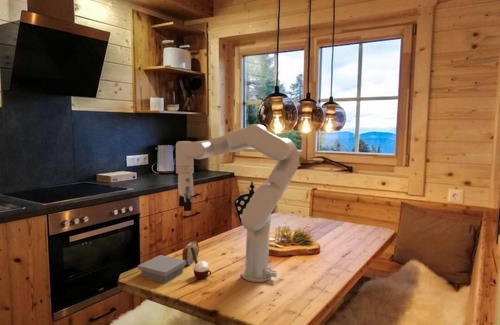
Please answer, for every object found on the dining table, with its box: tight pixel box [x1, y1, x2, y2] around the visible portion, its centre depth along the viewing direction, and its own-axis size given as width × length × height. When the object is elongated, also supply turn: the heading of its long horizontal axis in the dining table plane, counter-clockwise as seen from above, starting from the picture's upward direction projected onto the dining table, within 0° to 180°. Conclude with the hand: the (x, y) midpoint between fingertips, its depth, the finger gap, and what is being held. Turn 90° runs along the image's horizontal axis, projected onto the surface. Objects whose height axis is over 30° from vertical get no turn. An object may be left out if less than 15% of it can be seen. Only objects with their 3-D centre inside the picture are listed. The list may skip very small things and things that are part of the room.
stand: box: [137, 254, 187, 284], centre depth 151 cm, size 14×14×5 cm
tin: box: [181, 241, 200, 266], centre depth 167 cm, size 15×3×8 cm, turn 168°
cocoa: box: [191, 247, 212, 280], centre depth 150 cm, size 10×6×12 cm, turn 45°
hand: (185, 208), depth 159 cm, fingers open, 9 cm apart
